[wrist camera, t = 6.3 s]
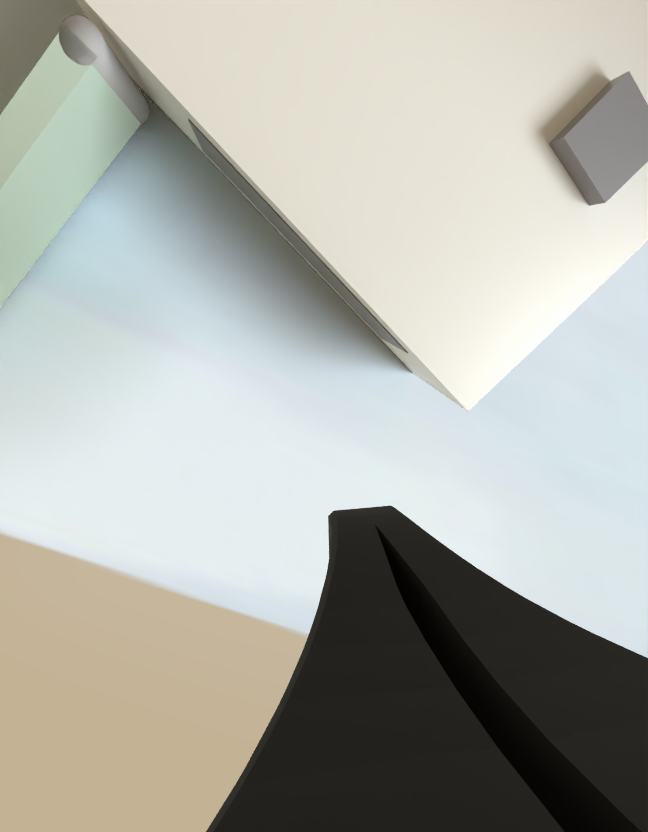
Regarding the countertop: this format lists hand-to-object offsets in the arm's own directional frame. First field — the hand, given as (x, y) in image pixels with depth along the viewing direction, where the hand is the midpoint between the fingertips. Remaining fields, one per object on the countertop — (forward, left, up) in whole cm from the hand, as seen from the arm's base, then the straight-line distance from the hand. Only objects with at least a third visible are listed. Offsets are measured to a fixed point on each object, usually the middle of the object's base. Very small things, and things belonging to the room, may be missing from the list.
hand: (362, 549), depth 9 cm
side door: (+2, -11, -9) cm, 15 cm away
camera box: (-9, -5, -9) cm, 14 cm away
